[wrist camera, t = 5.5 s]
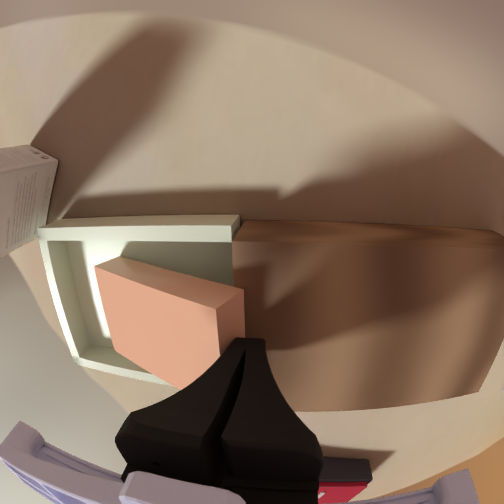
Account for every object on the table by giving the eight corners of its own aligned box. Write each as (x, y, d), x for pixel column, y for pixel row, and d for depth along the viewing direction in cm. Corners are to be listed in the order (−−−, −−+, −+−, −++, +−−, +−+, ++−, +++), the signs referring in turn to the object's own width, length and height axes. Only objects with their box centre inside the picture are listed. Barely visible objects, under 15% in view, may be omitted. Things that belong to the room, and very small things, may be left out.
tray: (239, 214, 16) (230, 225, 14) (244, 369, 19) (239, 394, 17) (60, 219, 17) (37, 228, 15) (91, 346, 21) (75, 363, 19)
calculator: (327, 519, 23) (200, 508, 22) (325, 493, 27) (206, 479, 27) (376, 484, 19) (215, 474, 19) (368, 452, 23) (222, 436, 23)
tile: (243, 289, 13) (215, 309, 11) (246, 389, 15) (226, 412, 13) (119, 256, 17) (93, 266, 15) (136, 337, 19) (114, 350, 17)
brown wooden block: (493, 231, 14) (530, 250, 10) (457, 358, 17) (478, 391, 14) (245, 220, 16) (231, 241, 12) (249, 366, 19) (240, 408, 15)
